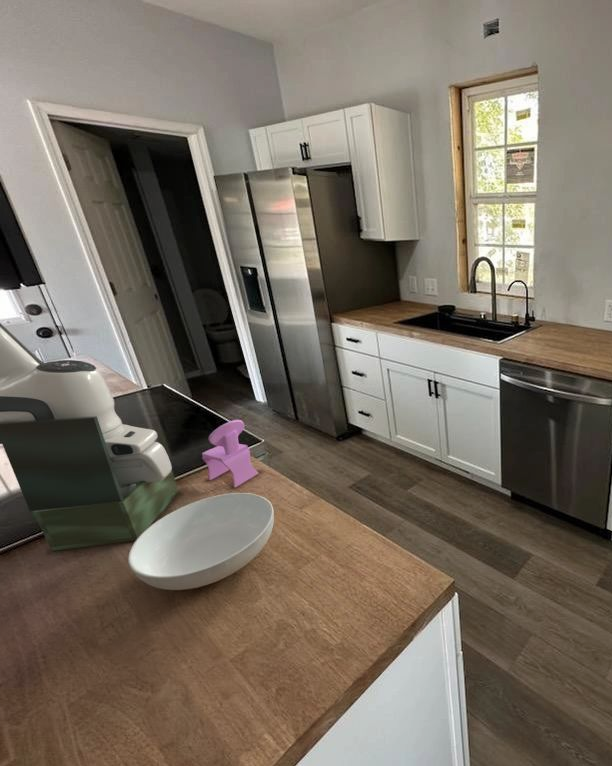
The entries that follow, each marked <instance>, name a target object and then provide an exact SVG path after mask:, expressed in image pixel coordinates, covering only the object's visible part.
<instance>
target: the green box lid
mask: <svg viewBox="0 0 612 766" xmlns="http://www.w3.org/2000/svg"><path fill="white" fill-rule="evenodd" d="M0 440H1V442H2V444H1V445H2V447H3V450H4V451H5V455H6V456H7V459H8V462H9V464H10V467H11V470H12V471H13V474H14V476H15V479H16V481H17V484H18V486H19V489H20V491H21V493H22V496H23V498H24V500H25V503H26V506H27V508H28V510H29V512H34V511H37V510H47V509H56V508H66V507H75V506H84V505H94V504H103V503H113V502H121V501H122V500H123V499H124V498H123V495H122V492H121V489H120V486H119V483H118V480H117V477H116V474H115V471H114V468H113V465H112V461H111V458H110V455H109V452H108V449H107V446H106V443H105V440H104V437H103V434H102V431H101V428H100V424H99V421H98V418H97V416H92V417H77V418H62V419H47V420H32V421H17V422H2V423H0Z"/></svg>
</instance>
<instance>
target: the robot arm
mask: <svg viewBox="0 0 612 766" xmlns="http://www.w3.org/2000/svg"><path fill="white" fill-rule="evenodd" d="M92 416H97V418H98V421H99V424H100V428H101V431H102V434H103V437H104V440H105V443H106V446H107V449H108V452H109V455H110V458H111V461H112V465H113V468H114V471H115V474H116V477H117V480H118V483H119V485H129V484H137V485H138V484H139V483H140V482H141V481H146V483H149V482H159V481H162V480H163V479H164V478H165V477H167V475H168V474H169V473H170V472H171V470H172V469H173V466H172V462H171V460H170V457H169V455H168V453H167V451H166V449H165V447H164V446H163V444H161V443H160V442H158V441H156V440H157V439H158V432H157V431H155V430H154V429H151V428H144V427H138V426H132V425H129V424H124V423H123V422H122V419H121V418H120V417H119V416H118V414H117V413H116V411H115V399H114V397H113V395H112V392H111V389H110V387H109V385H108V383H107V381H106V379H105V378H104V375H103V374H102V372H101V370H100V369H98V368H97V367H96V366H95V365H94V364H92V363H90V362H86V361H83V360H77V359H76V360H75V359H60V360H54V361H53V360H52V361H51V360H50V361H46V362H43V360H41V359H40V358H39V357H37V356H36V355H35V354H34V353H33V352H32V351H31V350H30V349H28V347H26V346H25V345H24V344H23V343H22V342H21V341H20V339H18V338H17V337H16V336H14V334H12V332H10V331H9V330H8V329H7V328H6V327H5V326H4V325H3V324H2V322H0V423H2V422H17V421H32V420H47V419H62V418H77V417H92ZM0 445H2V442H1V440H0ZM172 471H173V470H172Z"/></svg>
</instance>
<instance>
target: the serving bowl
mask: <svg viewBox="0 0 612 766" xmlns="http://www.w3.org/2000/svg"><path fill="white" fill-rule="evenodd" d="M274 523H275V511H274V507H273V505H272V502H270V500H269V499H267V498H266V497H263V496H262V495H259V494H255V493H250V492H249V493H248V492H232V493H231V492H229V493H223V494H218V495H214V496H209V497H206V498H202V499H200V500H196V501H194V502H191V503H189V504H186V505H183V506H181V507H179V508H177V509H175V510H173V511H172V512H170V513H168V514H166V515H165V516H163V517H161V518H159V519H158V520H156V521H154V522H153V523H152V524H151V525H150V527H149V528H148V529H146V530H145V531H144V532H143V533H142V534H141V535H140V536H139V537H138V539H137V540H135V541H134V543H133V544H132V545H131V548H130V549H129V552H128V555H127V562H128V566H129V568H130V569H131V571H132V572H133V573H134V575H135V576H136V577H137V579H139V580H140V581H141V582H143V583H145V584H147V585H149V586H150V587H154V588H156V589H160V590H168V591H183V590H192V589H198V588H201V587H204V586H208V585H211V584H213V583H216V582H218V581H221V580H223V579H225V578H227V577H229V576H231V575H233V574H234V573H236V572H238V571H240V570H241V569H242V568H243V567H245V566H246V565H248V564H249V563H250V562H251V561H252V560H254V559H255V557H257V556H258V554H260V552H261V551H262V550H263V549H264V548H265V546H266V544H268V541H269V539H270V537H271V535H272V532H273V529H274Z"/></svg>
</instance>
